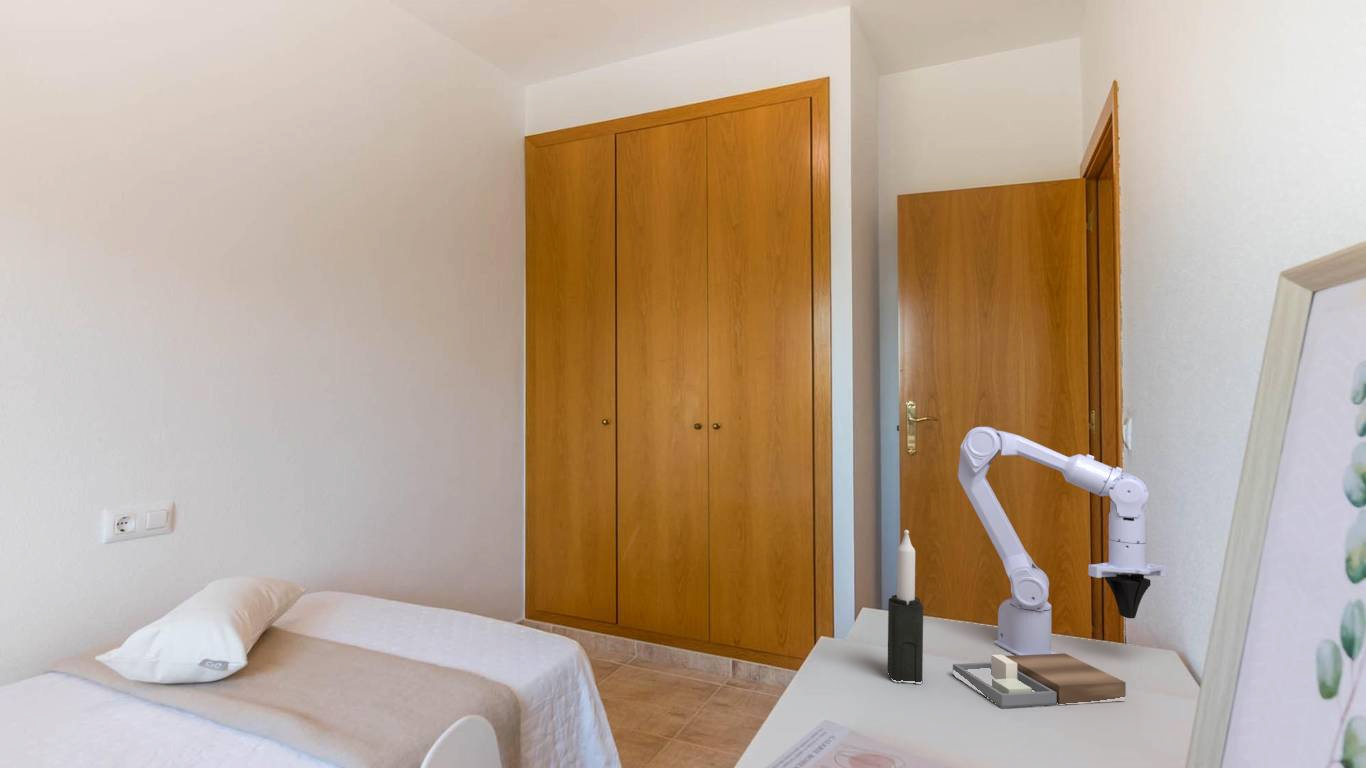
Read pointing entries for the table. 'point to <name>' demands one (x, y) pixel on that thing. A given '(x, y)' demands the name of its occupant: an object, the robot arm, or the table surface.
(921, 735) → the table surface
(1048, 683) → the walnut board
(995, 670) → the cream tile
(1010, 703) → the tray
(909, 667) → the candle
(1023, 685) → the sage tile
